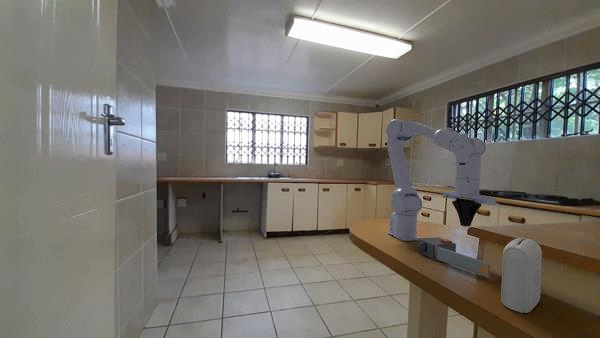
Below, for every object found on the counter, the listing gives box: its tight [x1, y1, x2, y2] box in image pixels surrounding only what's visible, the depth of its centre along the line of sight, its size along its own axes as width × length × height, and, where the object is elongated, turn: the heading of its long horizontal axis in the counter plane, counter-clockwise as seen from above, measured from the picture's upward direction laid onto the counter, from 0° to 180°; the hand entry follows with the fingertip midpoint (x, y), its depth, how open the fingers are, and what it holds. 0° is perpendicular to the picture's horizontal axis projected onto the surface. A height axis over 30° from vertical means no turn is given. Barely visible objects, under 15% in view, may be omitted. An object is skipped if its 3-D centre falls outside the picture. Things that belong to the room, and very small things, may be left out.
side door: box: [434, 245, 491, 279], centre depth 59 cm, size 1×12×4 cm, turn 29°
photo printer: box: [500, 237, 543, 314], centre depth 44 cm, size 10×4×12 cm, turn 123°
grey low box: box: [416, 236, 457, 260], centre depth 68 cm, size 6×9×5 cm, turn 103°
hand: (465, 225), depth 66 cm, fingers closed
